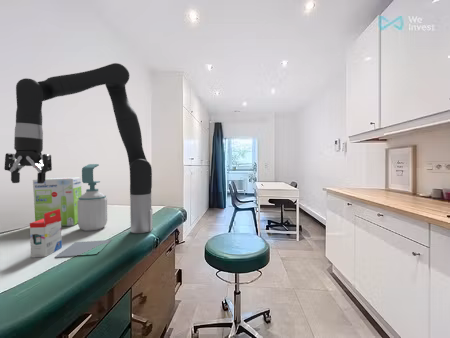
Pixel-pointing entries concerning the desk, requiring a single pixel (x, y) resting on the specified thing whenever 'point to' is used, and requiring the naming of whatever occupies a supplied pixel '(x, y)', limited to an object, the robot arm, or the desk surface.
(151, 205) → the robot arm
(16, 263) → the desk surface
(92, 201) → the soap bottle
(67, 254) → the mat
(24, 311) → the desk surface
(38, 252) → the ink box
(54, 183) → the toothbrush box
